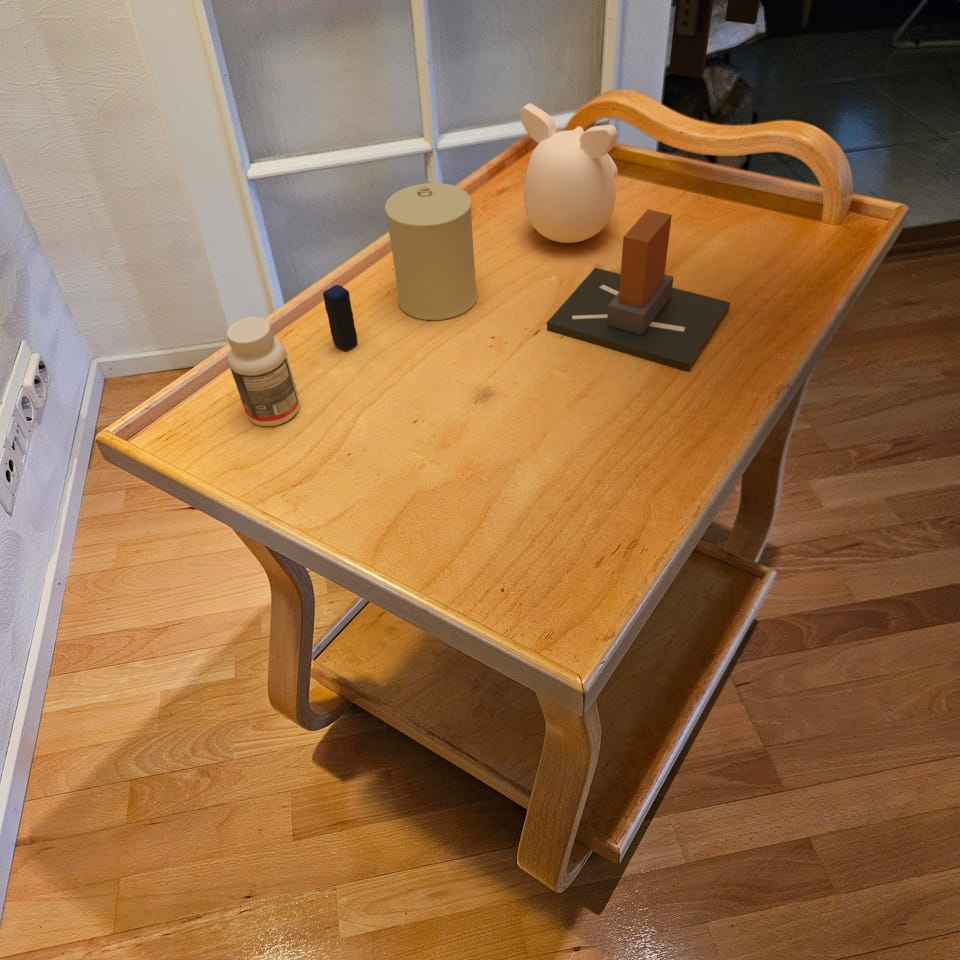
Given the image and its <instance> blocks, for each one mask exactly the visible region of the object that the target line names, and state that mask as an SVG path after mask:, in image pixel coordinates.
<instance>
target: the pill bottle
mask: <svg viewBox="0 0 960 960" xmlns="http://www.w3.org/2000/svg"><path fill="white" fill-rule="evenodd" d="M226 338H227V341H228V344H229V347H230V349H229V351H228V354H227V362H228V363H227V364H228V366H229V369H230V372H231V374H232V378H233V380H234V383H235V386H236V388H237V392H238V395H239V398H240V401H241V404H242V406H243V409H244V411H245V414H246V417H247V418H248V420H250V422H252V423H253V424H255V425H257V426H262V427H273V426H279V425H281V424H285V423H286V422H289V420H291V419H292V418H293V417H294V416H296V415H297V413H298V411H299V410H300V407H301V401H300V397H299V393H298V389H297V385H296V381H295V379H294V376H293V372H292V370H291V369H292V368H291V365H290V362H289V358H288V354H287V351H286V348H285V345H284V344H283V342H282V341H281V340H280V339H279V338H277V337H276V336H274V331H273V330H272V326H271V324H270V322H269V321H268V320H267V319H265V318H263V317H261V316H259V317H258V316H249V317H244V318H241V319H238V320H236V321H234V322H233V323H231V324H230V326H229V327H228V328H227V330H226Z"/></svg>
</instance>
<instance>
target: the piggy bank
mask: <svg viewBox="0 0 960 960" xmlns="http://www.w3.org/2000/svg"><path fill="white" fill-rule="evenodd" d="M519 117H520V121H521V124H522V127H523V128H524V130H525V132H526V133H527V134H528V136H529V137H530V138H531V139H532V140H533V141H535V142H536V143H538V144H537V145H536V146H535V148H534V149H533V151H532V153H531V155H530V158H529V160H528V163H527V167H526V173H525V176H524V177H525V178H524V185H523V201H524V202H523V203H524V209H525V213H526V217H527V220H529V221H528V222H529V223H530V224H531V226H532V228H534V230H535V231H537V233H539V234H540V235H541V236H542V237H544V238H546V239H548V240H550V241H553V242H556V243H563V244H573V243H579V242H583V241H586V240H589V239H591V238H592V237H594V236H596V235H598V234H599V233H600V232H601V231H602V230H603V229H604V228H605V227H606V226H607V224H608V223H609V221H610V219H611V217H612V215H613V212H614V210H615V205H616V196H617V195H616V193H617V192H616V191H617V190H616V178H617V176H618V173H619V172H618V167H617V165H616V163H615V161H614V160H613V158H612V157H611V155H610V154H609V152H610V151H611V150H613V148H614V147H615V145H616V144H617V141H618V140H617V139H618V130H617V128H616V126H614V125H613V124H603V125H595V126H592V127H589V128H587V130H585V131H584V128H583V127H582V126H581V125H579V126H576V128H574V129H570V130H562V131H561V130H560V131H557V129H556V128H557V127H556V123H555V121H554V119H553V118H552V116H551V115H550V114H548V113H547V112H546V111H545V110H543V109H541V108H540V107H538V106H537V105H535V104H534V103H531V102H530V103H527V104H526V105H524V106H523V107H521V109H520V111H519ZM556 131H557V132H556Z"/></svg>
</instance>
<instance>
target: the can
mask: <svg viewBox="0 0 960 960" xmlns="http://www.w3.org/2000/svg"><path fill="white" fill-rule="evenodd" d="M472 203H473V201H472V198H471V196H470V193H468V192H467V191H466V190H464V189H463V188H462V187H459V186H457V185H453V184H448V183H443V182H441V183H440V182H426V183H419V184H414V185H410V186H407V187H404V188H402V189H399V190H398V191H396V192H395V193H393V194H391V195H390V196H389V197H388V198H387V200H386V202H385V203H384V213H385V215H386V222H387V229H388V235H389V241H390V247H391V253H392V260H393V261H392V262H393V268H394V274H395V282H396V289H397V297H396V300H397V304H398V307H399V308H400V310H401V311H403V312H404V313H405V314H407V315H408V316H410V317H412V318H414V319H418V320H423V321H442V320H449V319H453V318H456V317H458V316H461V315H463V314H464V313H466V312H468V311H469V310H470V309H471V308H473V307H474V305H475V304H476V302H477V300H478V298H479V290H478V287H477V280H476V268H475V253H474V252H475V251H474V238H473V235H474V234H473V215H472Z"/></svg>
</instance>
